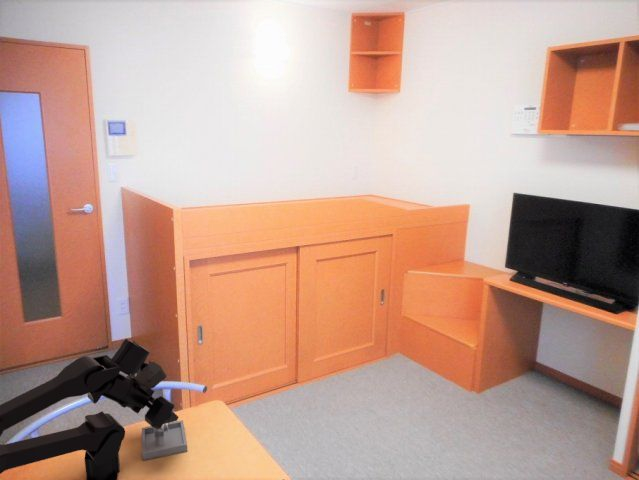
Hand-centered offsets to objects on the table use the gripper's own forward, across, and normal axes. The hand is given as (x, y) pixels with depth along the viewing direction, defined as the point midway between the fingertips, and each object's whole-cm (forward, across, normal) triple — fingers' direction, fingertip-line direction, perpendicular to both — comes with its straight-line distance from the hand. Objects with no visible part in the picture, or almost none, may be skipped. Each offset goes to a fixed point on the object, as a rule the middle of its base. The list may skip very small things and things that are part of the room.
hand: (167, 411), depth 118 cm
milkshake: (+5, 0, +7) cm, 8 cm away
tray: (+5, 0, +7) cm, 9 cm away
